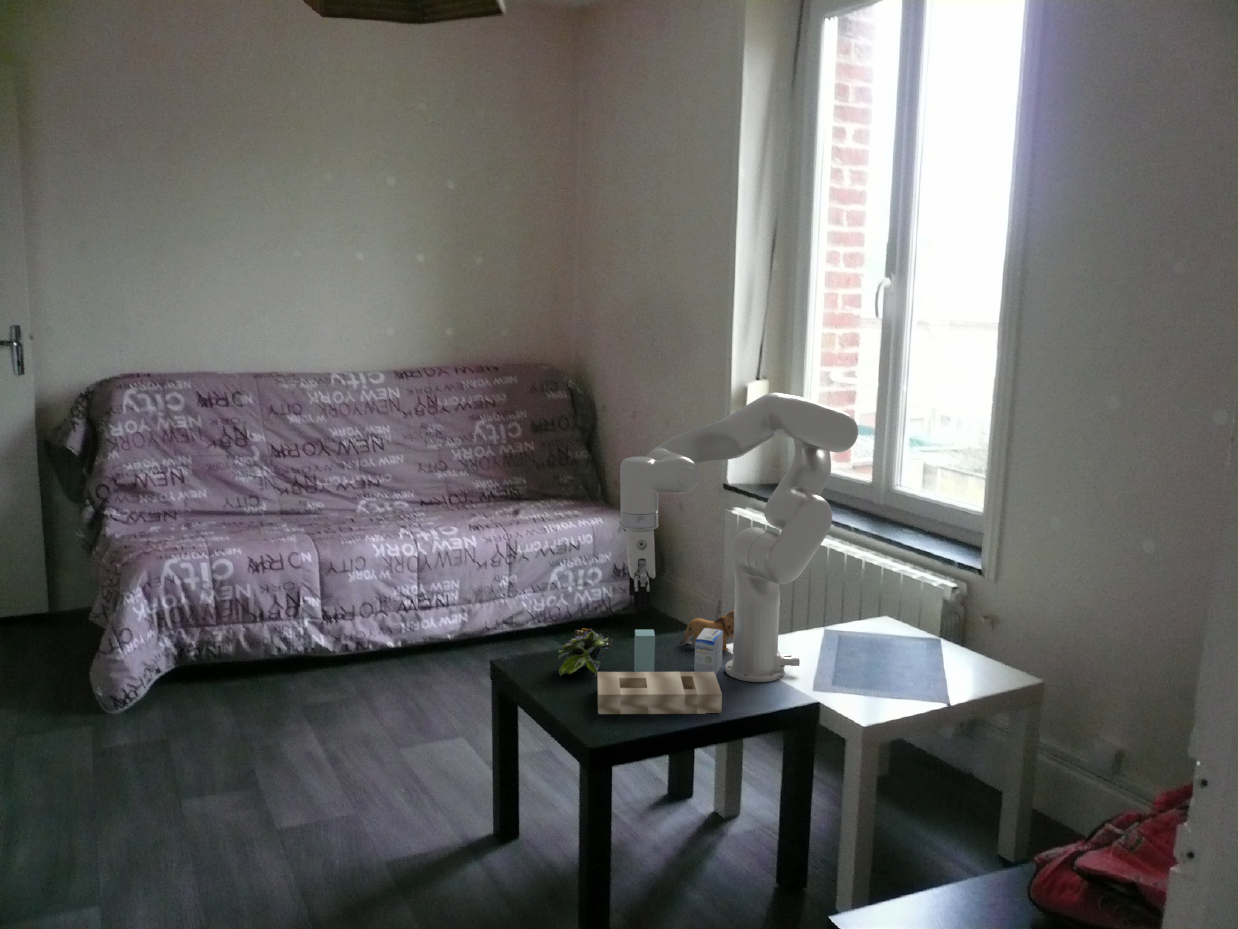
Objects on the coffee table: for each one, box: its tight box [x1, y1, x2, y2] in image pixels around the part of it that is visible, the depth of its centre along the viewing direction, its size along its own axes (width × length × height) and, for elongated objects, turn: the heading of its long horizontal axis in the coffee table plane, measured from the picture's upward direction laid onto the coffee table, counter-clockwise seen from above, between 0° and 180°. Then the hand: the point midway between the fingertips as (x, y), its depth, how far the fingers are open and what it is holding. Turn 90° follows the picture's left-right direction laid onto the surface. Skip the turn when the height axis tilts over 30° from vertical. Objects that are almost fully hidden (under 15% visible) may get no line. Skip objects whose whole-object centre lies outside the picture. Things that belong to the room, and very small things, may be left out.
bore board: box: [596, 671, 723, 715], centre depth 214 cm, size 24×12×4 cm, turn 92°
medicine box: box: [693, 628, 723, 676], centre depth 230 cm, size 8×4×9 cm, turn 162°
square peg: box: [633, 629, 656, 672], centre depth 226 cm, size 4×4×10 cm
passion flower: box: [557, 627, 614, 679], centre depth 229 cm, size 11×11×12 cm
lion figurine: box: [678, 609, 734, 652], centre depth 246 cm, size 15×5×9 cm, turn 89°
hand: (639, 602), depth 215 cm, fingers open, 9 cm apart
